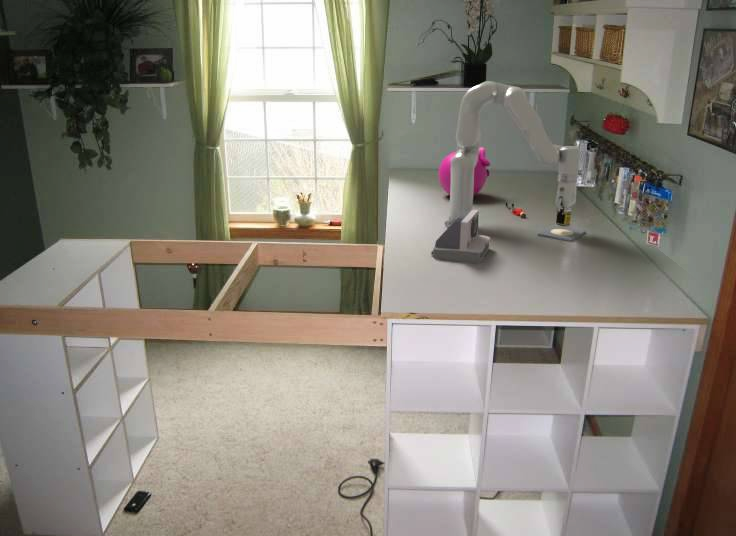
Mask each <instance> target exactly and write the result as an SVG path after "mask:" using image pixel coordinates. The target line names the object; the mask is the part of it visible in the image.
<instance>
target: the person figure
mask: <svg viewBox="0 0 736 536" xmlns="http://www.w3.org/2000/svg"><path fill="white" fill-rule="evenodd" d="M504 205H505V206H506V207H505V208H507V209H508V210H510V212H511V214H512V215H514V214H515V215H514V216H516V215H518V216H517V217H519V216H520V218H521V217H522V218H521V219H526V217H527V214H526V212H524V211H523V209H522V207H519V208H515V204H514V203H512V204H511V206H509V205H508V202H505V204H504Z"/></svg>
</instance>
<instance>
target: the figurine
mask: <svg viewBox="0 0 736 536" xmlns="http://www.w3.org/2000/svg"><path fill="white" fill-rule="evenodd" d="M455 154H456V151H454V152H452V153H450V154H448V155H446V157H445V158H444V159H443V160H442V161H441V163H440V166H439V169H438V180H439V184H440V186H441V189H442V190H443V191H444V192H445V193H446V194H447V195H449V196H450V188H451V161H452V159H453V157H454V155H455ZM490 166H491V163H490V162H489V160H488V159H487V157H486V149H485V148H484V147H482V146H480V147H479V155H478V161H477V164H476V166H475V167H474V188H473V197H474V196H475V195H477V194H479V193H480V192H481V191H482V189H483V188H484V187H485V184H486V182H487V177H489V176H490V170H489V169H487V167H490Z"/></svg>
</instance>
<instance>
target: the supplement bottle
mask: <svg viewBox="0 0 736 536" xmlns="http://www.w3.org/2000/svg"><path fill="white" fill-rule="evenodd" d="M561 206H564V205H561ZM571 208H572V207H571ZM571 208H569V207H568V208H565V213H564V214H565V221H564V224H559V223H556V222H555V225H556V226H558V227H563V228H566V227H567V228H570V226H571V218H572V216H571V215H572V209H571ZM561 209H562V210H563V208H561Z"/></svg>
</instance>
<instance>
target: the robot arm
mask: <svg viewBox="0 0 736 536" xmlns="http://www.w3.org/2000/svg"><path fill="white" fill-rule="evenodd" d="M489 104H492V105H493V104H494V105H498V106H502V107H505V108H506V110H507V111H508V113H509V114H510V116H511V117H512V119H513V121H514V122H515V123H516V125H517V126H518V128H519V129H520V131H521V133H522V135H523V137H524V139H525V140H526V141H527V143H528V144H529V146H530V148H531V150H532V151H533V154H534V155H535V156H536V158H537V159H538V161H539V162H540V163H541V165H542V166H544V167H548V168H549V167H555V166H556V165H557V164H558V174H557V182H558V184H557V185H558V186H557V191H556V198H555V205H556V207H555V209H556V220H555V224H556V223H559V224H564V221H565V214H564V213H565V208H568V207H569V208H571V210H572V207H573V205H575V204H576V203H577V202H576V201H577V190H578V188H577V183H578V178H579V177H578V176H579V170H580V169H579V168H580V159H581V148H580V147H578V146H575V145H565V146H564V145H558V144H553V142H552V141H551V139H550V138H549V136H548V135H547V132H546V130H545V128H544V125H543V122H542V119H541V118H540V116H539V114H538V113H537V111H536V110H535V108H534V107H533V105H532V104H531V102H530V100H529V99H528V98H527V93H526V92H525V90H524V89H523V88H521V87H519V86H516V85H515V86H514V85H510V84H504V83H501V82H495V81H491V80H490V81H489V80H488V81H483V82H481V83H479V84H477V85H475V86H473V87H471V88H469V90H467V91H466V93H465V94H464V96H463V97H462V99H461V103H460V105H459V112H458V113H459V114H458V119H457V126H456V127H457V128H456V132H455V141H456V144H457V145H456V151H455V152H456V154H455V155H454V157H453V159H452V161H451V188H450V195H449V213H448V214H449V215H448V220H445V221H444V225H445V227H446V228H448V227H449V226H450V225H451V224H452V223H453V222H454V221H455V220H456V219H457V217H458V216H460V215H461V214H462V213H463V212H464V211H472V210H473V205H474V204H473V202H474V196H473V188H474V167H475V166H476V164H477V161H478V155H479V148H480V147H481V139H482V138H481V137H482V131H481V128H480V127H479V126H480V119H481V113H482V112H481V111H482V109H483V107H484V106H486V105H489ZM561 205H564V206H561ZM561 208H563V210H562V209H561Z"/></svg>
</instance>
